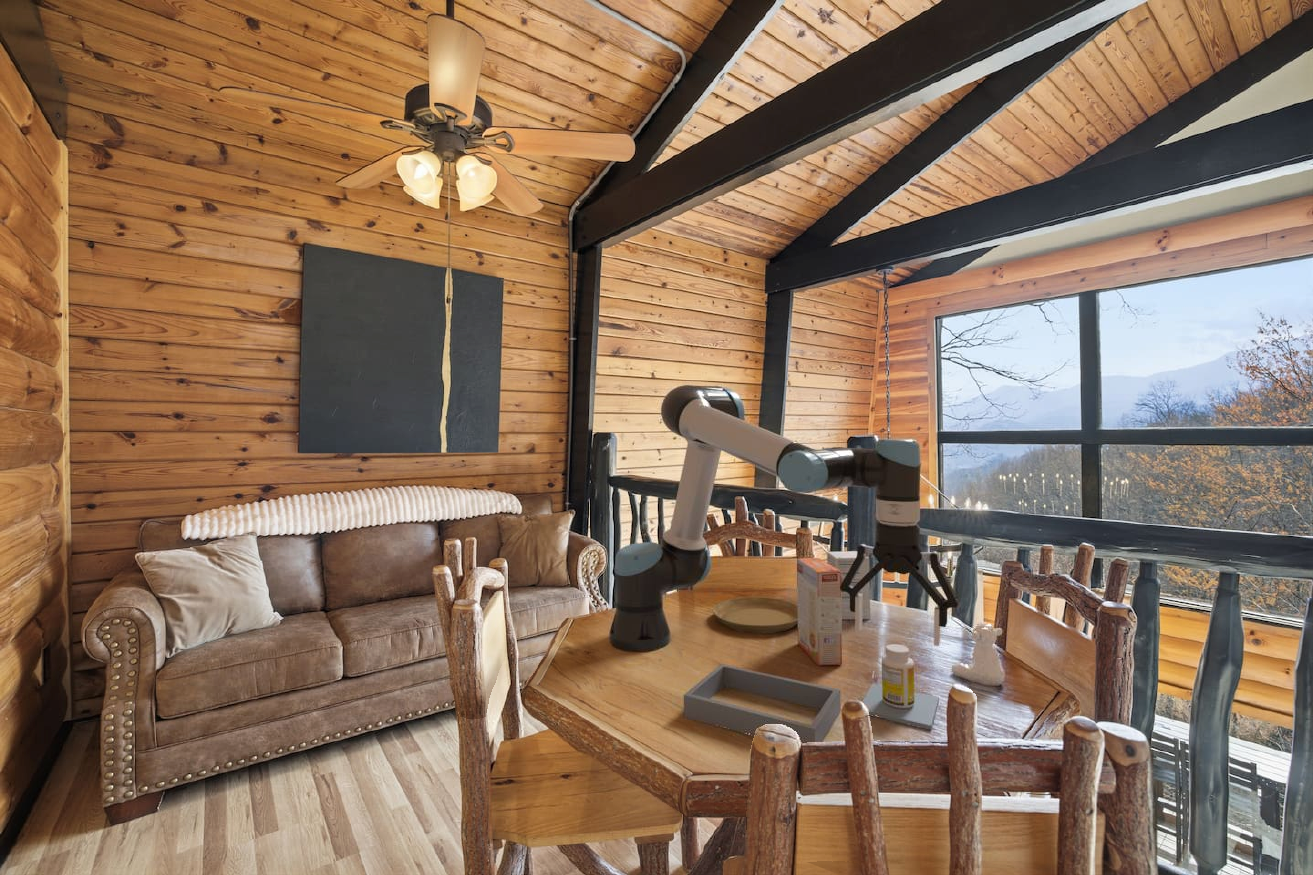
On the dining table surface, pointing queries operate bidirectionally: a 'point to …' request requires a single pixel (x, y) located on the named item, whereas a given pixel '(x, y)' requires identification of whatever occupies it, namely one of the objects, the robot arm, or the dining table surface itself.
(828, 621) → the cracker box
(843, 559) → the supplement box
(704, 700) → the bin
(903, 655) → the supplement bottle
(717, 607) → the plant saucer
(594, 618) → the dining table surface
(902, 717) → the mat
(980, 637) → the white creature statuette
